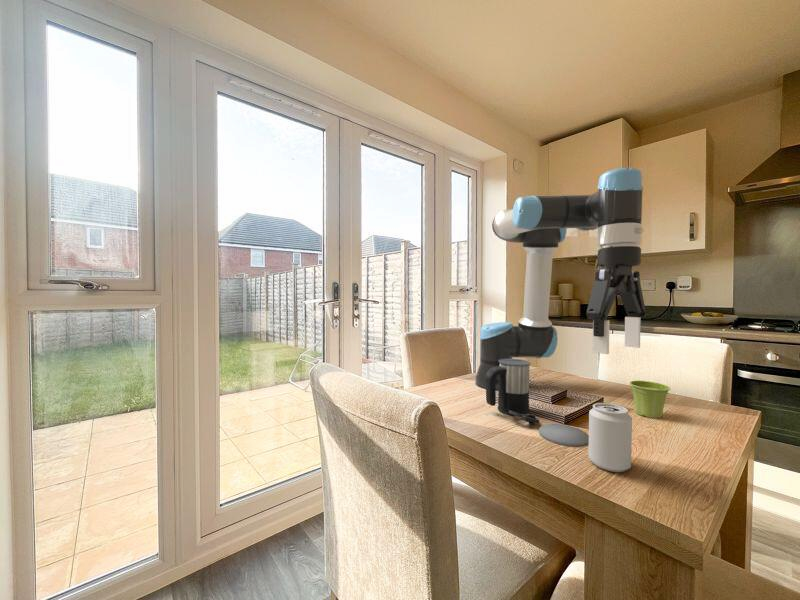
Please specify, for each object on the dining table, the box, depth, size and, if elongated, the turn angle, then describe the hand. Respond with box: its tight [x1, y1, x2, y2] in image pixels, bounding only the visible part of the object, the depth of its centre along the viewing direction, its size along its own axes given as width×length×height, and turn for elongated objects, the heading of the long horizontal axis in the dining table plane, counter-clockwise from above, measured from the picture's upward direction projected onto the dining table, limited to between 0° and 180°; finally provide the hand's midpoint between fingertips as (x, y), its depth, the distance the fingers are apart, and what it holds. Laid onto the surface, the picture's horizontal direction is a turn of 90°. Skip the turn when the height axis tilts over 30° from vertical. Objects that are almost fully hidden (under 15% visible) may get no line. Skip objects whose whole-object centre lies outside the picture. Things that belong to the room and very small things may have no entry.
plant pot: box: [629, 380, 671, 419], centre depth 97 cm, size 9×9×9 cm
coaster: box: [539, 423, 589, 447], centre depth 83 cm, size 11×11×1 cm
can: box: [587, 402, 633, 473], centre depth 70 cm, size 8×8×12 cm
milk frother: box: [485, 358, 540, 425], centre depth 97 cm, size 14×16×15 cm
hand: (617, 350), depth 70 cm, fingers open, 13 cm apart
